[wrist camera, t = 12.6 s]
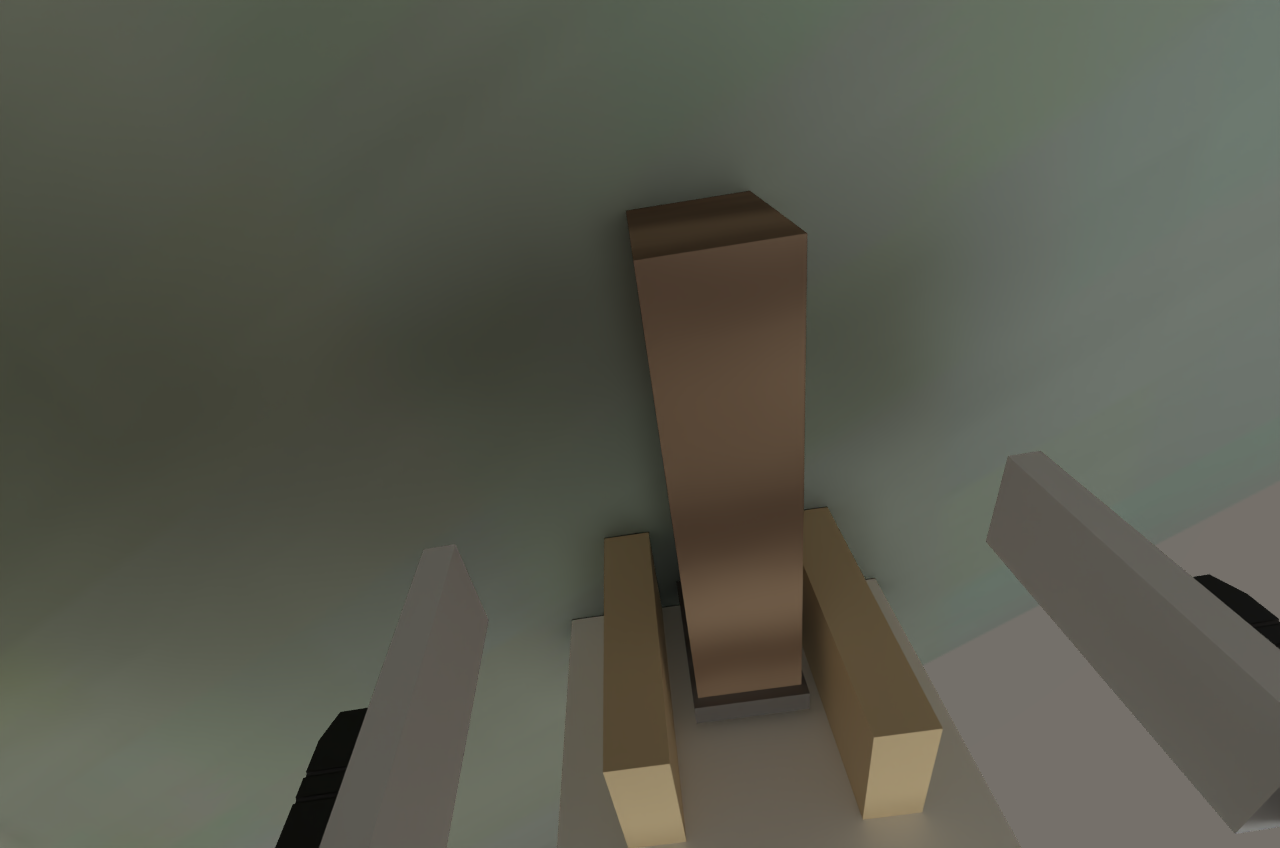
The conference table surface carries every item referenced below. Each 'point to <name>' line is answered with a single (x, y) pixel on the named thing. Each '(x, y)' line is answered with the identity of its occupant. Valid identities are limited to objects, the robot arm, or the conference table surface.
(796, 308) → the rail
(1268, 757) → the robot arm
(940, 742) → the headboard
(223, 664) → the conference table surface
